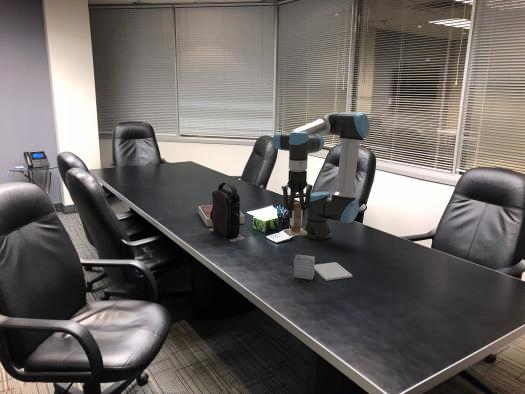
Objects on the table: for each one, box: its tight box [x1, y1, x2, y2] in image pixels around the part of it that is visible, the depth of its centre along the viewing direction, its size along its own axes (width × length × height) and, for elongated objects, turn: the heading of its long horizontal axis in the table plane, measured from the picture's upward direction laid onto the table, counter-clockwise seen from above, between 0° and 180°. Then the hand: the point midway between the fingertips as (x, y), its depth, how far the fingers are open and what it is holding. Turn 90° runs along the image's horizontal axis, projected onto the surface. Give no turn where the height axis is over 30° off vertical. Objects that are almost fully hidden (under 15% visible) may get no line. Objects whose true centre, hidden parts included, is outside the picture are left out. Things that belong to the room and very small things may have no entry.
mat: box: [314, 262, 353, 282], centre depth 174 cm, size 14×12×1 cm
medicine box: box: [293, 254, 316, 281], centre depth 168 cm, size 8×4×9 cm, turn 74°
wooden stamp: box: [283, 201, 307, 237], centre depth 173 cm, size 6×8×13 cm
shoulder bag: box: [209, 181, 246, 243], centre depth 216 cm, size 23×9×28 cm, turn 37°
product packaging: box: [198, 204, 246, 228], centre depth 246 cm, size 22×28×5 cm
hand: (295, 224), depth 174 cm, fingers closed on wooden stamp, 3 cm apart
